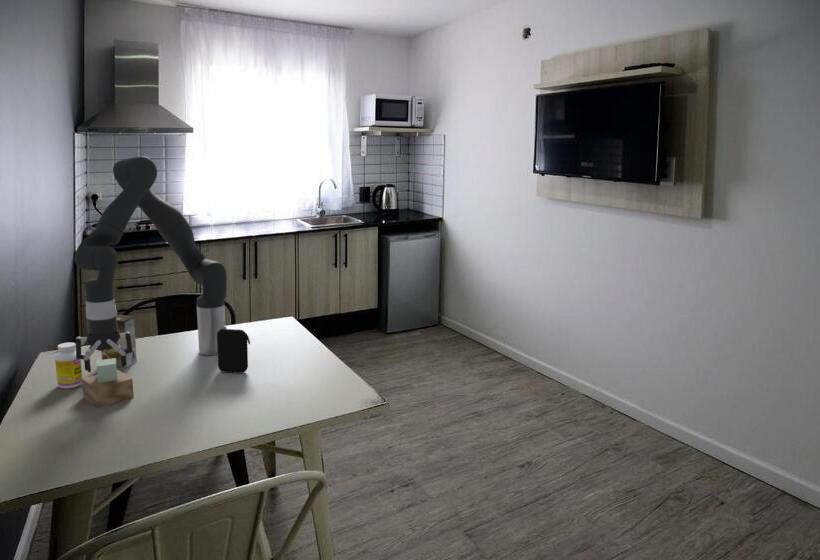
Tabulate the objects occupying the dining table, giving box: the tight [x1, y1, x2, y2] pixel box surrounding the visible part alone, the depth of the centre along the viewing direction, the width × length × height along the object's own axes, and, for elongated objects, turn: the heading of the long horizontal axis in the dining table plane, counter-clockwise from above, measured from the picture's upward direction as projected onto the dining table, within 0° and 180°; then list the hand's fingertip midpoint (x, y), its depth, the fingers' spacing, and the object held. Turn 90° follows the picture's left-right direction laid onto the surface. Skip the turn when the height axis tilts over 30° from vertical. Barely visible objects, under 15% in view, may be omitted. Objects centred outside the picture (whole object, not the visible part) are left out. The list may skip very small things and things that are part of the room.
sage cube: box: [95, 358, 118, 383], centre depth 169 cm, size 5×5×5 cm
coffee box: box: [100, 314, 138, 368], centre depth 195 cm, size 9×6×16 cm
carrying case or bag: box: [217, 328, 251, 373], centre depth 190 cm, size 11×3×15 cm, turn 89°
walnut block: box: [81, 369, 135, 408], centre depth 170 cm, size 10×10×6 cm
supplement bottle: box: [54, 342, 83, 389], centre depth 176 cm, size 7×7×13 cm
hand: (106, 369), depth 169 cm, fingers open, 8 cm apart
